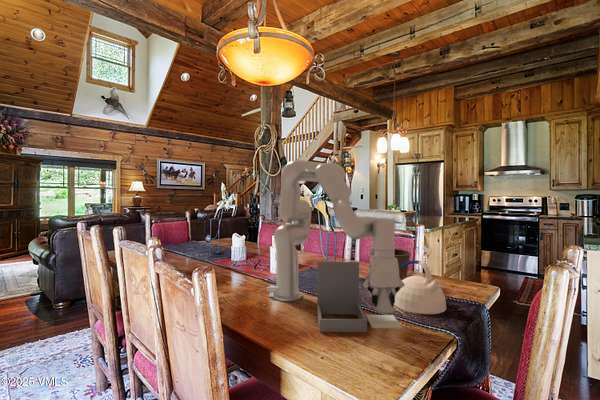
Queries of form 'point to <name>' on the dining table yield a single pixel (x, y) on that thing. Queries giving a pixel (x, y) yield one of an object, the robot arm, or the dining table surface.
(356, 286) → the case
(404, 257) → the plant pot
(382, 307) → the flask
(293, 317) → the dining table surface
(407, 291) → the kettle
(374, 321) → the rubber mat
